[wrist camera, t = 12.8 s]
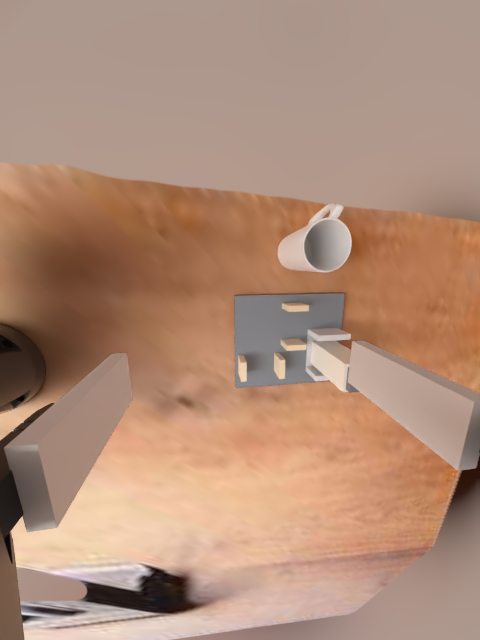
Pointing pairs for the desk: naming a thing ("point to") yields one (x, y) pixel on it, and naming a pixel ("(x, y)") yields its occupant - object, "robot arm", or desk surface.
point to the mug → (318, 243)
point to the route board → (283, 336)
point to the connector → (333, 363)
